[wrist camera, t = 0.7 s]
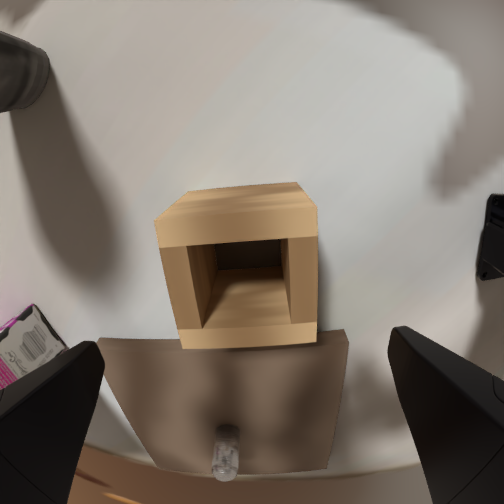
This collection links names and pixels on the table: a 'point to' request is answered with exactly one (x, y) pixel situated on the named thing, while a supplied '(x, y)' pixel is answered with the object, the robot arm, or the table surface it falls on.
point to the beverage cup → (20, 72)
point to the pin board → (230, 403)
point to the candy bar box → (26, 345)
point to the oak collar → (241, 280)
